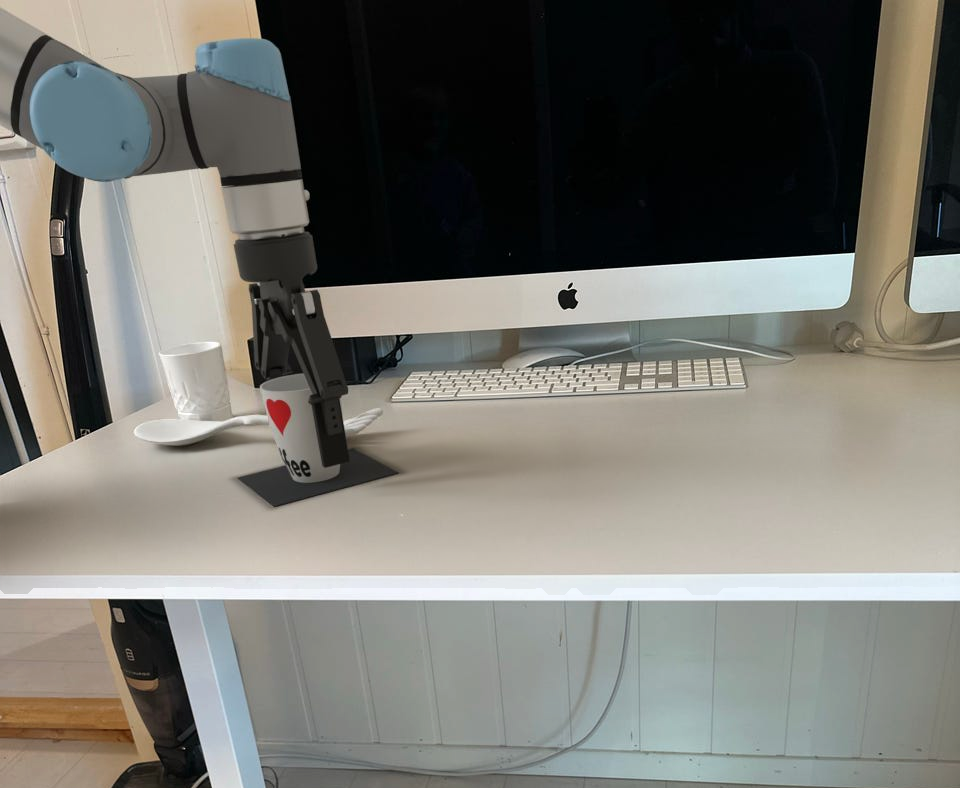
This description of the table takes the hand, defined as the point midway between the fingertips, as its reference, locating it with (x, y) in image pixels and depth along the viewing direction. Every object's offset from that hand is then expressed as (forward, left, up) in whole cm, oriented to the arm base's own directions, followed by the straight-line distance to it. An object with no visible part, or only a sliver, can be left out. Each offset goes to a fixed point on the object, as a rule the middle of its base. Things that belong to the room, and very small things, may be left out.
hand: (311, 449), depth 97 cm
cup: (0, 0, -3) cm, 3 cm away
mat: (0, 0, -3) cm, 3 cm away
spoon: (-1, +18, -3) cm, 18 cm away
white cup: (-3, +32, -3) cm, 32 cm away
